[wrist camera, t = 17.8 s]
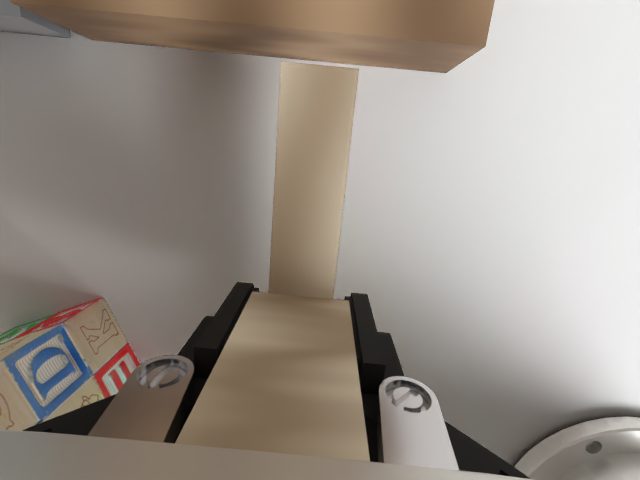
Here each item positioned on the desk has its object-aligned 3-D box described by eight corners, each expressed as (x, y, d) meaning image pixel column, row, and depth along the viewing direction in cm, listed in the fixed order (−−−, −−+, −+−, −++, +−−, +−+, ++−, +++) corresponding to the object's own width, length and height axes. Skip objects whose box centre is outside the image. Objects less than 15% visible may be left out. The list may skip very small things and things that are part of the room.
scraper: (367, 86, 11) (457, -46, 3) (321, 463, 15) (315, 780, 8) (276, 77, 11) (154, -76, 3) (256, 456, 15) (186, 768, 8)
